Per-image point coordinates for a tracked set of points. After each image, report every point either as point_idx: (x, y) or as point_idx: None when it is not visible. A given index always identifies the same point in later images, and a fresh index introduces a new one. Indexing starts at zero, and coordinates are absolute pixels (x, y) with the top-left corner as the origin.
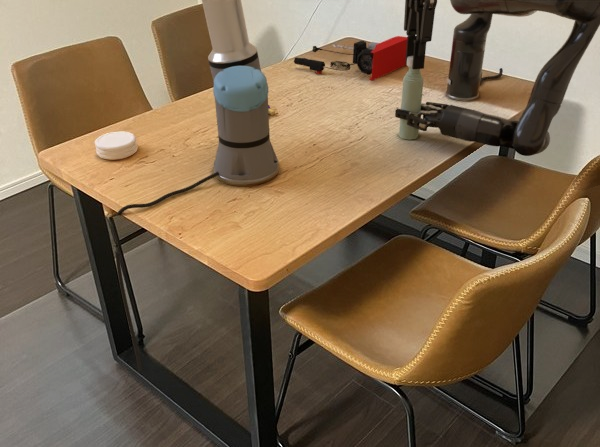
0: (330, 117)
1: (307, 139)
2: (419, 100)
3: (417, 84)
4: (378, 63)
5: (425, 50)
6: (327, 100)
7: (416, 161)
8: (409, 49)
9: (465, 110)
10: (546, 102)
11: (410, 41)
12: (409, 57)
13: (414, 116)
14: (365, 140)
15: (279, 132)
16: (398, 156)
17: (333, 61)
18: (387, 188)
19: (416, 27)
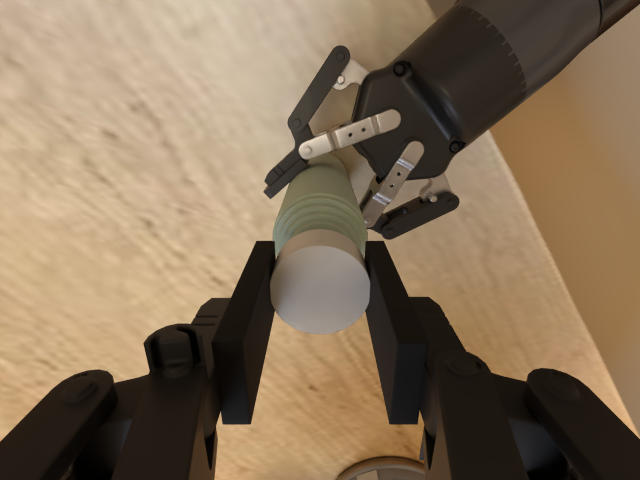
0: (164, 326)
1: (282, 393)
2: (354, 194)
3: (367, 234)
4: None
5: (407, 296)
6: (42, 306)
7: (469, 216)
8: (266, 339)
9: (526, 52)
10: None
11: (256, 378)
12: (299, 317)
13: (403, 222)
14: None
15: (235, 431)
16: (428, 247)
17: None
18: (552, 315)
19: (199, 439)
